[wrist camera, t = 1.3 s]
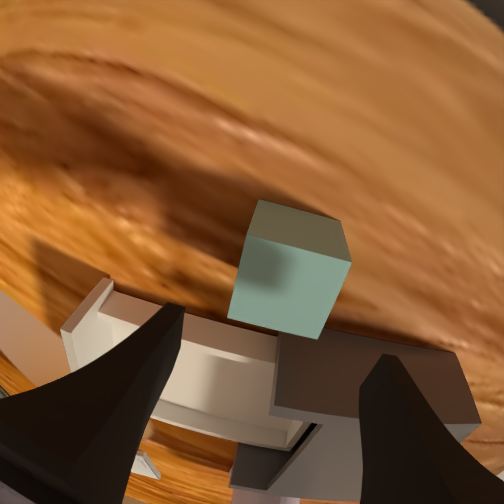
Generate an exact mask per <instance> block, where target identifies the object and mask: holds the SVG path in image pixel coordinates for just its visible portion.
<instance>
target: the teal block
mask: <svg viewBox="0 0 504 504" xmlns="http://www.w3.org/2000/svg"><path fill="white" fill-rule="evenodd" d="M351 264H352V261H351V257H350V253H349V250H348V246H347V242H346V239H345V235H344V232H343V228H342V225H341V221H338V220H334V219H331V218H327V217H324V216H320V215H317V214H313V213H309V212H306V211H302V210H298V209H295V208H291V207H287V206H283V205H280V204H276V203H272V202H268V201H264V200H260V199H259V200H258V203H257V206H256V209H255V211H254V214H253V217H252V220H251V223H250V226H249V229H248V232H247V235H246V239H245V243H244V247H243V252H242V256H241V260H240V264H239V268H238V273H237V277H236V281H235V286H234V290H233V294H232V298H231V303H230V307H229V311H228V316H227V318H230V319H234V320H238V321H242V322H245V323H249V324H253V325H257V326H261V327H265V328H270V329H274V330H278V331H282V332H286V333H291V334H295V335H299V336H304V337H308V338H313V339H318V337H319V335H320V333H321V331H322V329H323V327H324V324H325V322H326V320H327V318H328V316H329V314H330V312H331V309H332V307H333V305H334V303H335V301H336V298H337V296H338V294H339V292H340V289H341V287H342V285H343V283H344V280H345V278H346V276H347V273H348V271H349V269H350V266H351Z"/></svg>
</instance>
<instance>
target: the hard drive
mask: <svg viewBox="0 0 504 504" xmlns="http://www.w3.org/2000/svg"><path fill="white" fill-rule="evenodd" d="M131 472H134V473H137V474H141V475H144V476H148V477H152V478H156V479H160V476H161V474H160V473H159V471H158V470H157V468H156V467H155V466H154V464H153V463H152V461H151V460H150V458H149V457H148V456H147V454H146V452H144V451H140V450H138V451H137V454H136V457H135V460H134V463H133V466H132V469H131Z"/></svg>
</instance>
